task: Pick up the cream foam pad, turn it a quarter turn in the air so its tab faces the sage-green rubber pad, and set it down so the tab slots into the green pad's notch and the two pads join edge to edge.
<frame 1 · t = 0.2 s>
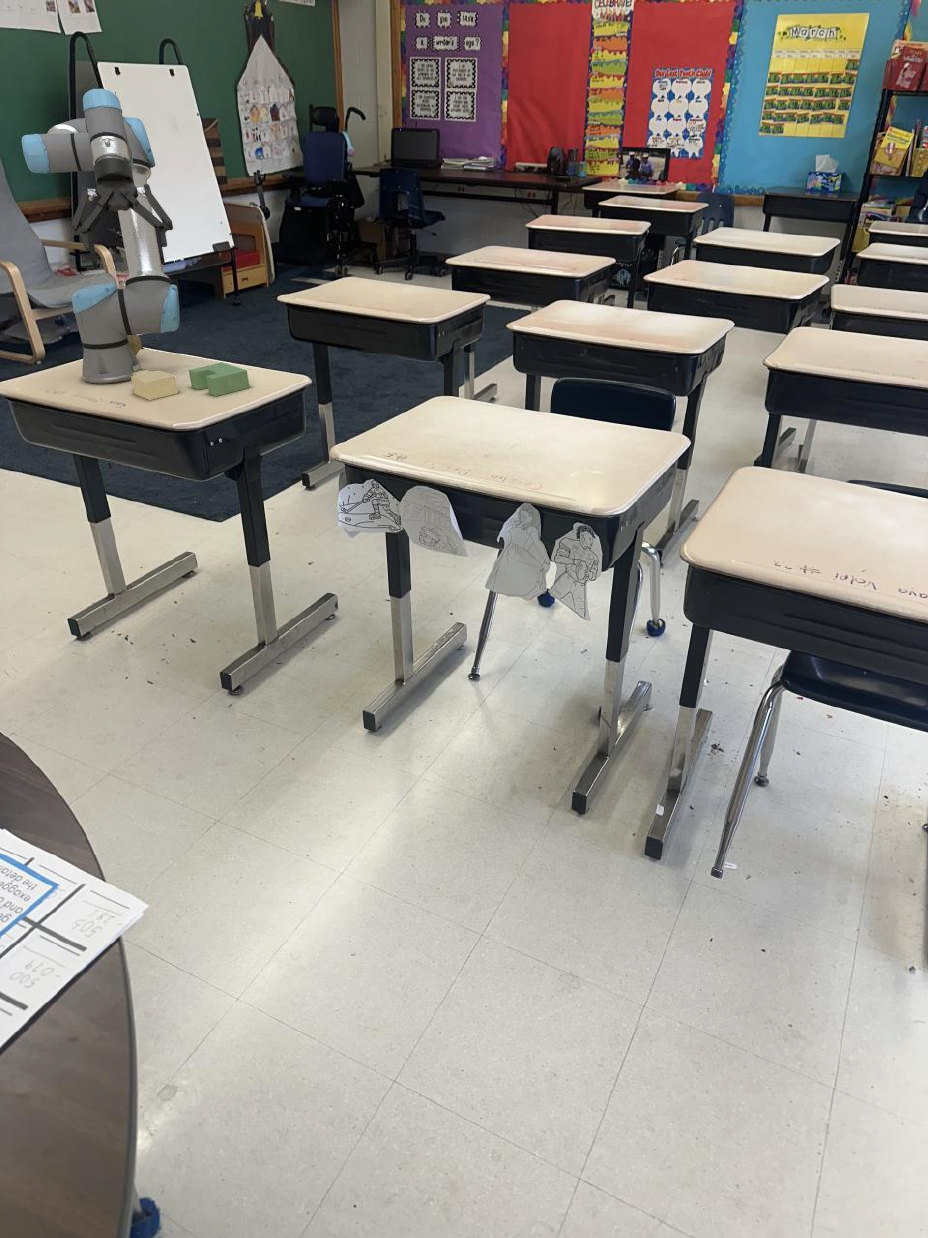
hand: (129, 262, 181), 35 cm above the table, tool tilted 35°, fingers open, 13 cm apart
cream pad: (156, 393, 221), on the table
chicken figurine: (124, 360, 250), on the table
green pad: (220, 387, 224), on the table
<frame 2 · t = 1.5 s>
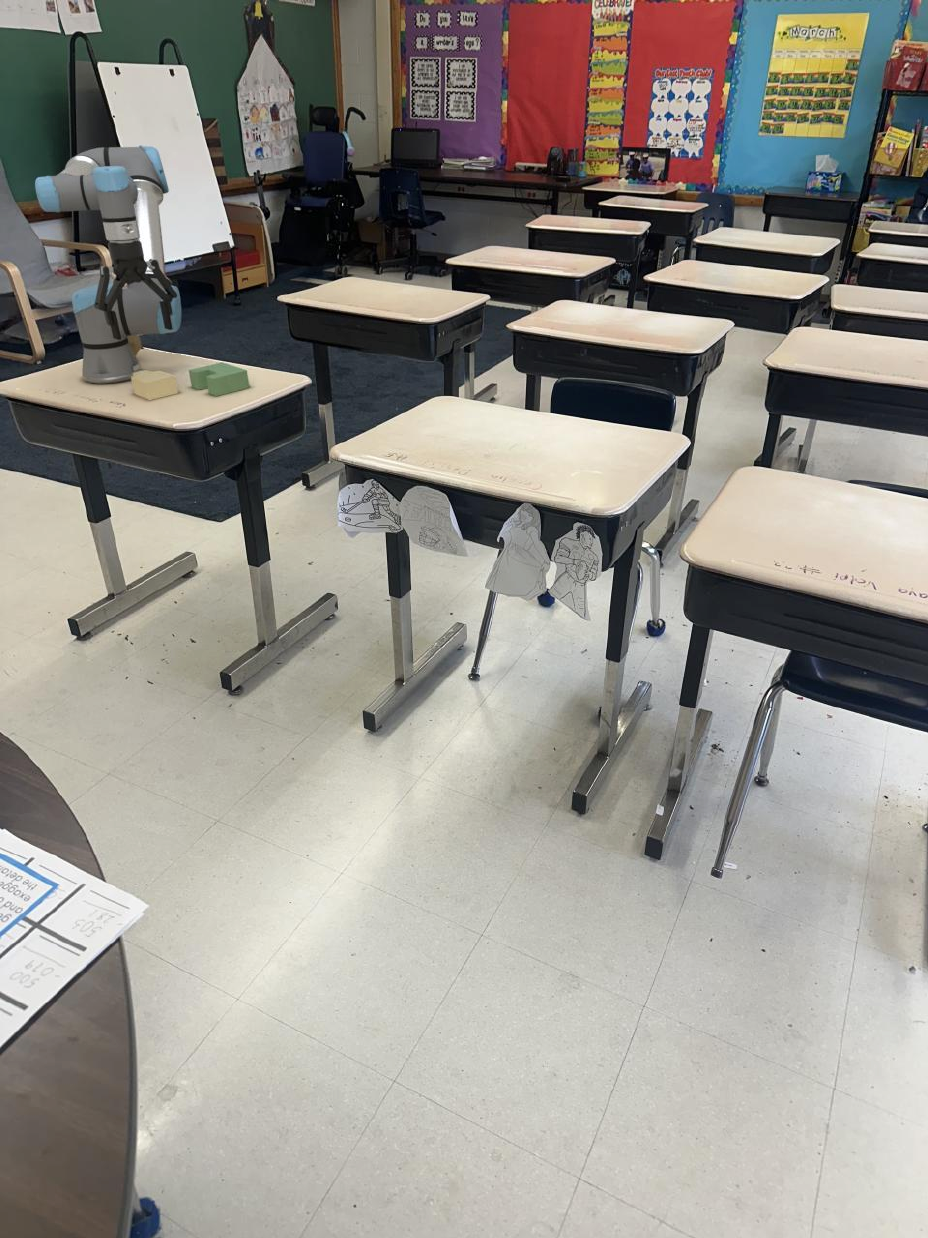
hand: (143, 333, 212), 15 cm above the table, tool pointing down, fingers open, 13 cm apart
nothing on the table moved.
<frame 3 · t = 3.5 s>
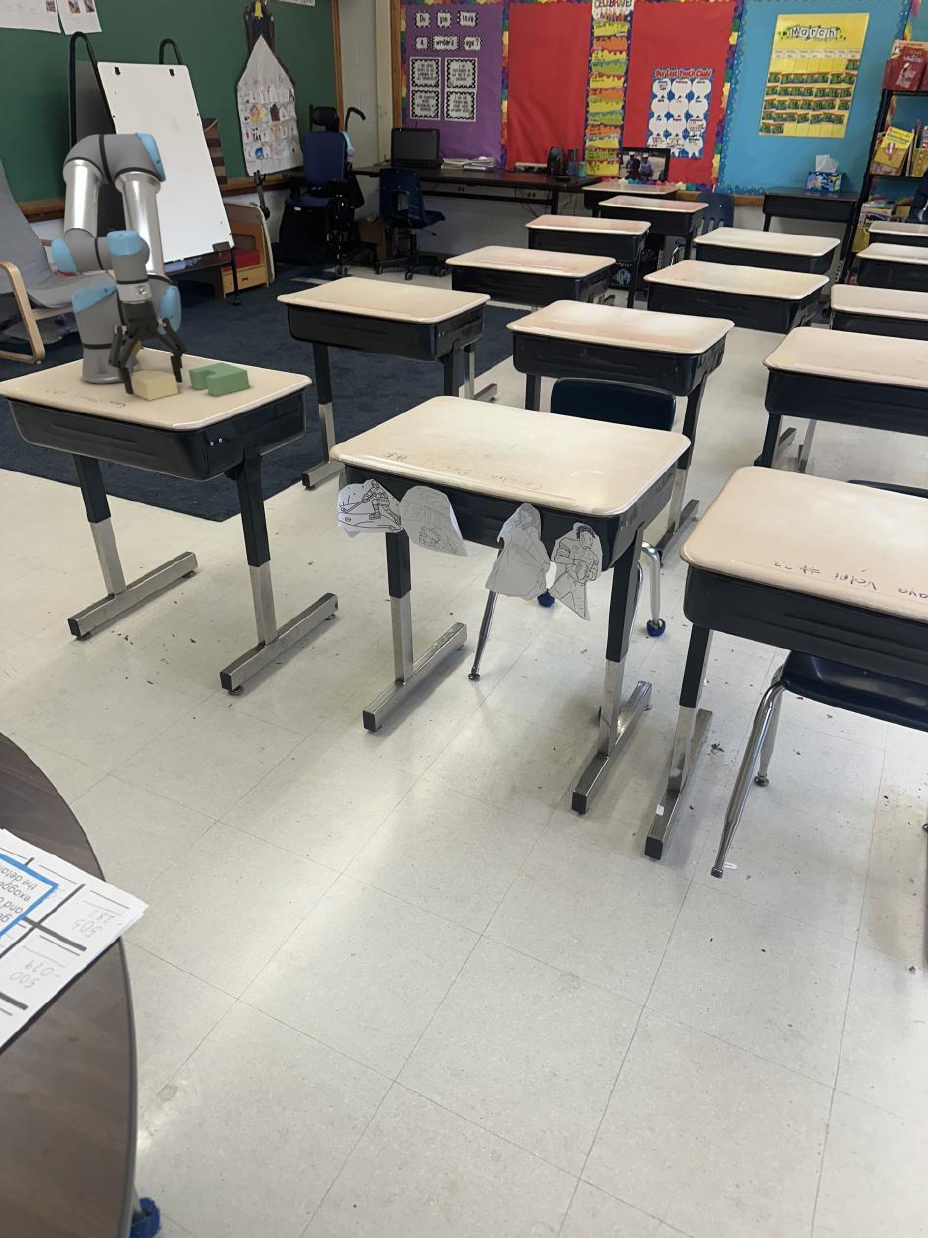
hand: (154, 387, 219), 2 cm above the table, tool pointing down, fingers open, 13 cm apart
nothing on the table moved.
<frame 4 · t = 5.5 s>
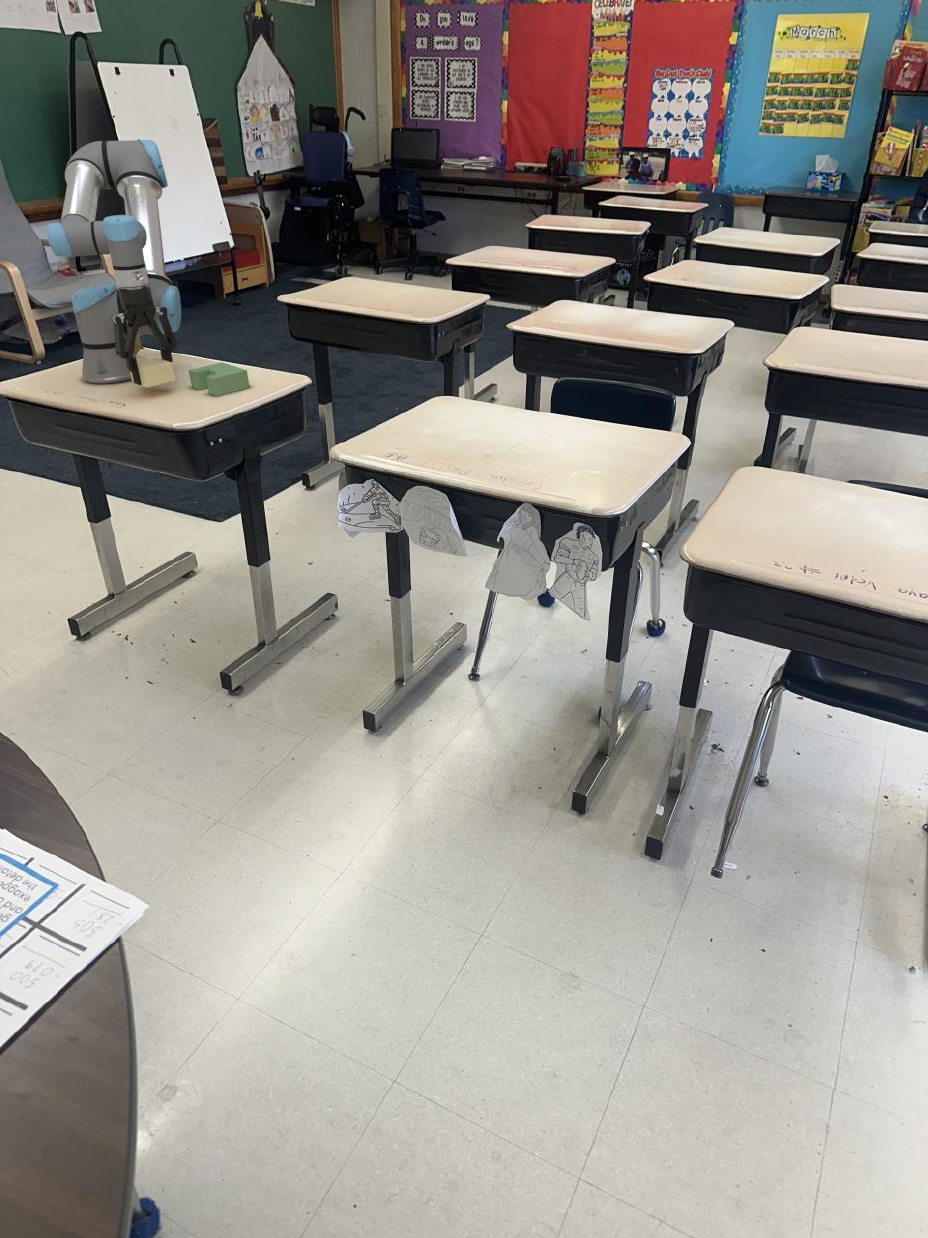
hand: (153, 379, 219), 3 cm above the table, tool pointing down, fingers closed on cream pad, 8 cm apart
cream pad: (154, 380, 219), point 3 cm above the table, touching gripper
everything else where it was.
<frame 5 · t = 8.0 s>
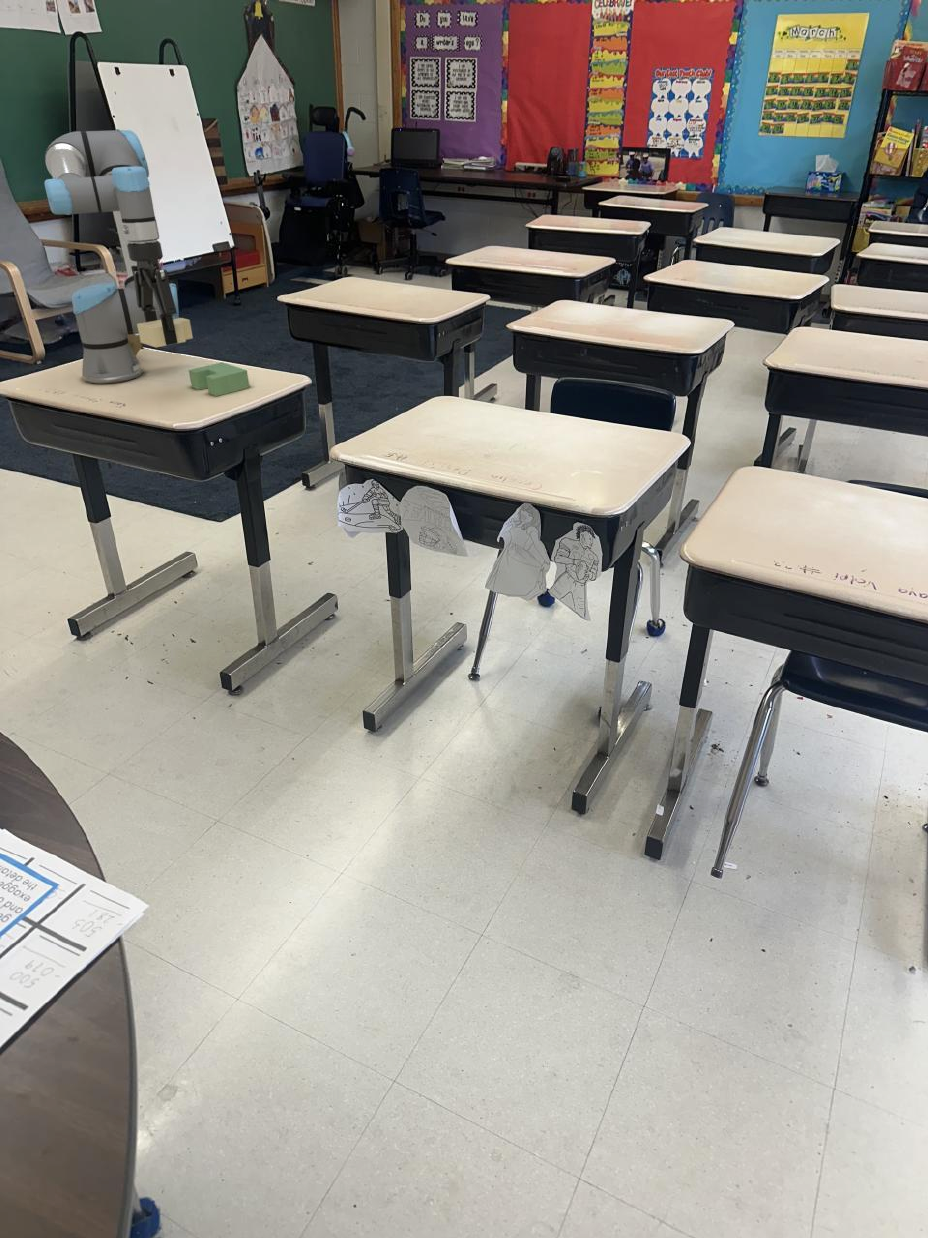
hand: (163, 340, 212), 14 cm above the table, tool pointing down, fingers closed on cream pad, 8 cm apart
cream pad: (163, 342, 212), point 13 cm above the table, touching gripper
everything else where it was.
when the fingers open (0 cm above the table, at t = 10.9 s): cream pad stays where it is, on the table.
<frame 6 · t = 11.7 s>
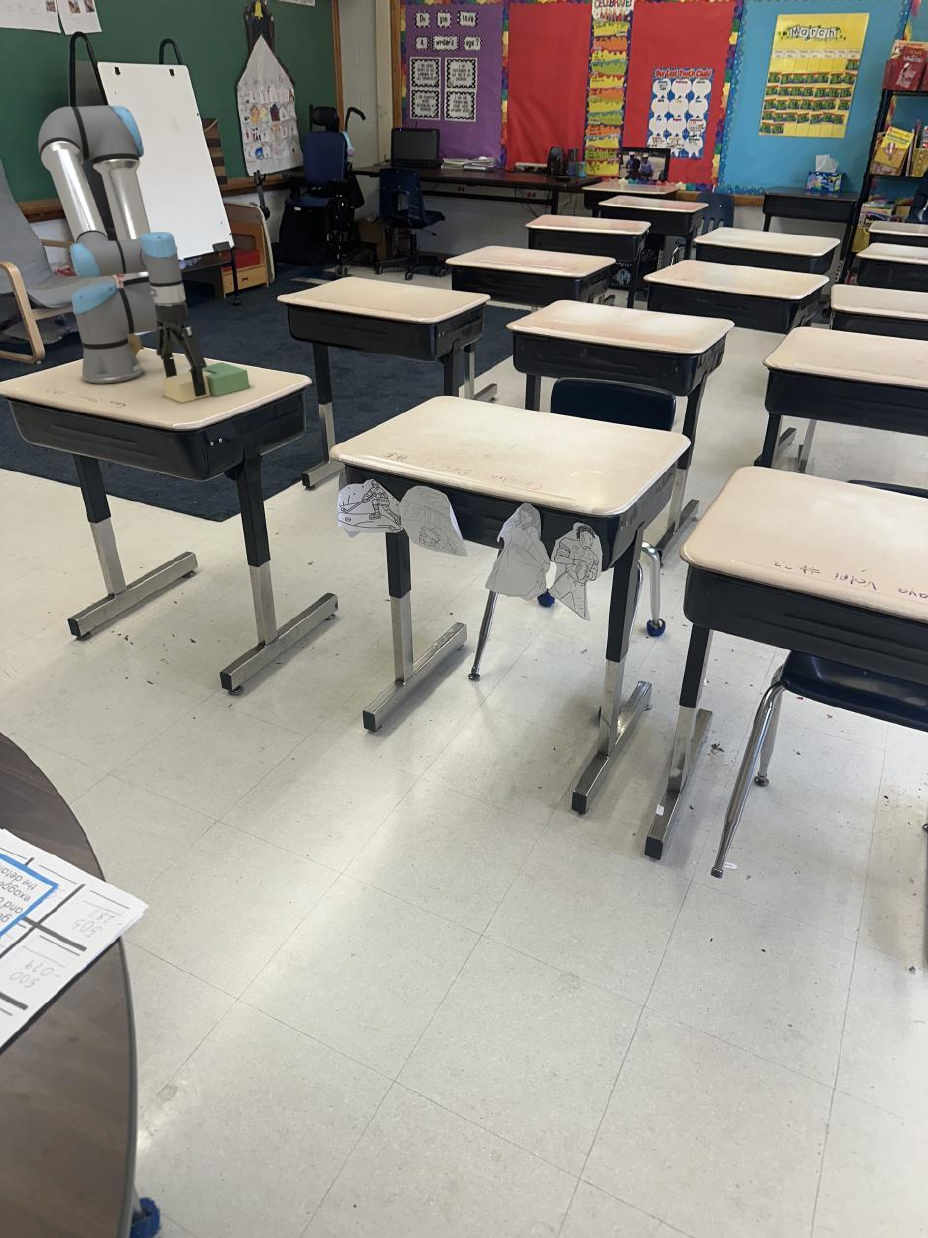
hand: (187, 390, 218), 1 cm above the table, tool pointing down, fingers open, 13 cm apart
cream pad: (188, 395, 218), on the table
everything else where it was.
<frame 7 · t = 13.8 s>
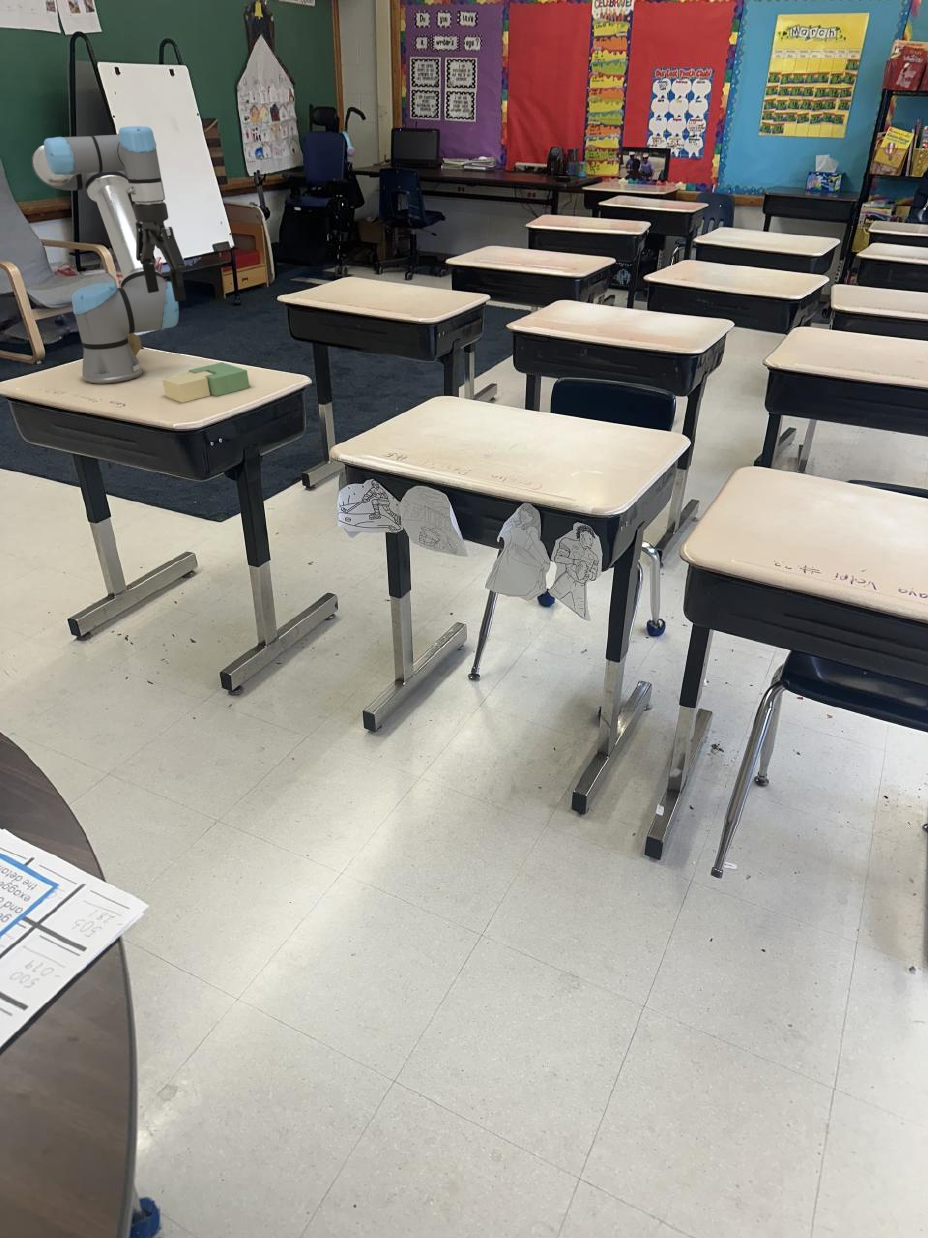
hand: (166, 296, 213), 23 cm above the table, tool pointing down, fingers open, 13 cm apart
nothing on the table moved.
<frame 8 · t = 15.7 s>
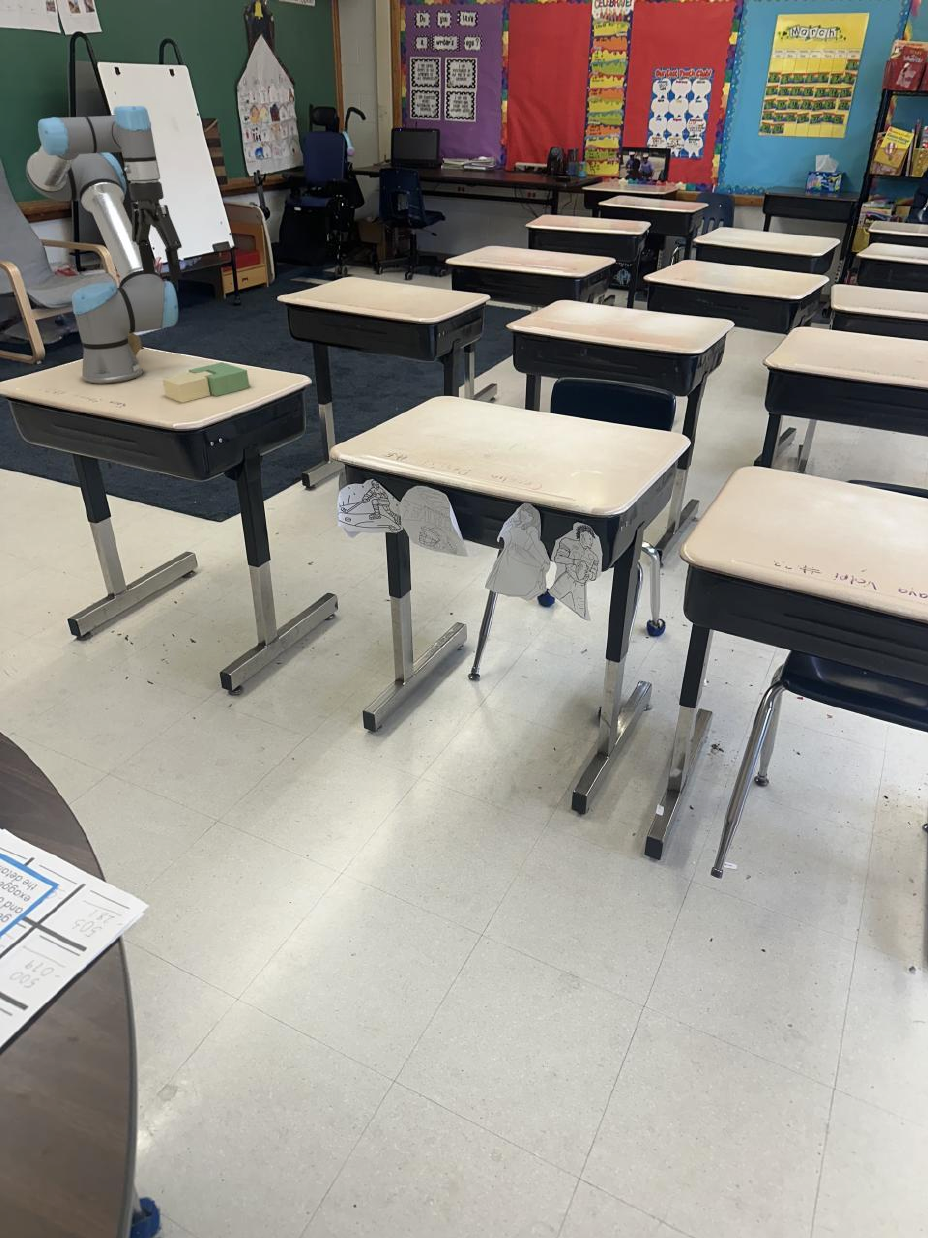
hand: (162, 276, 215), 27 cm above the table, tool pointing down, fingers open, 13 cm apart
nothing on the table moved.
at the end: cream pad 0.2 cm from the target spot on the table beside the green pad, on the table; cream pad tilted 0°; the gripper is holding nothing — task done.
